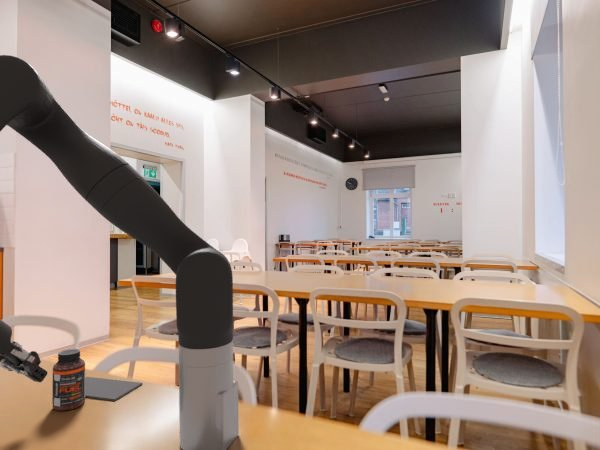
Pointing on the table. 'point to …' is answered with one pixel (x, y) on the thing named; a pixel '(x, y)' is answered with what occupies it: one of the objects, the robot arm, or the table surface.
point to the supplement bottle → (68, 380)
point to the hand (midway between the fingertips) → (41, 377)
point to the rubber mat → (108, 388)
